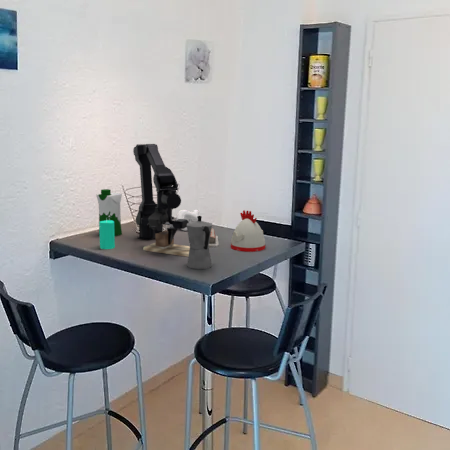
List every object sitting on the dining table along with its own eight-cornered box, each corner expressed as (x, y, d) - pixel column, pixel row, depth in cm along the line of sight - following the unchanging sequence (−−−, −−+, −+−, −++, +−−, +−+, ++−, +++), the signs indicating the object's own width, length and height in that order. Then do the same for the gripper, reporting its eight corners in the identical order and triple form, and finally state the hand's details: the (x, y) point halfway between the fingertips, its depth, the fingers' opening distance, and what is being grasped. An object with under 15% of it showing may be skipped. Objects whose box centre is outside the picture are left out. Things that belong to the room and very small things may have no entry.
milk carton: (95, 235, 240) (94, 189, 236) (110, 231, 248) (109, 187, 243) (110, 238, 236) (109, 191, 231) (125, 234, 243) (124, 189, 239)
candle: (102, 249, 217) (101, 219, 214) (97, 246, 222) (96, 216, 219) (117, 248, 219) (116, 218, 217) (112, 244, 225) (111, 215, 222)
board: (143, 250, 217) (143, 247, 217) (157, 244, 226) (157, 241, 226) (188, 256, 209) (188, 253, 208) (200, 250, 217) (200, 247, 217)
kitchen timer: (247, 241, 233) (248, 206, 230) (272, 247, 224) (273, 211, 221) (223, 247, 224) (224, 210, 221) (248, 253, 214) (249, 215, 211)
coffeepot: (180, 262, 202) (180, 213, 198) (205, 259, 205) (205, 211, 201) (195, 273, 188) (195, 221, 184) (220, 271, 191) (221, 219, 187)
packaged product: (194, 226, 240) (217, 226, 241) (194, 237, 241) (217, 237, 242) (193, 236, 223) (218, 236, 223) (193, 247, 224) (218, 248, 224)
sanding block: (155, 247, 216) (155, 233, 215) (165, 243, 222) (165, 230, 221) (164, 248, 214) (164, 234, 213) (173, 244, 220) (173, 231, 219)
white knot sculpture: (180, 233, 247) (180, 213, 245) (172, 227, 258) (172, 208, 256) (204, 231, 251) (204, 211, 249) (196, 226, 262) (196, 207, 260)
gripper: (132, 205, 212) (133, 245, 215) (174, 209, 204) (174, 251, 207) (148, 201, 221) (149, 239, 225) (189, 205, 213) (189, 244, 217)
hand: (164, 243), depth 218 cm, fingers closed on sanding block, 4 cm apart
